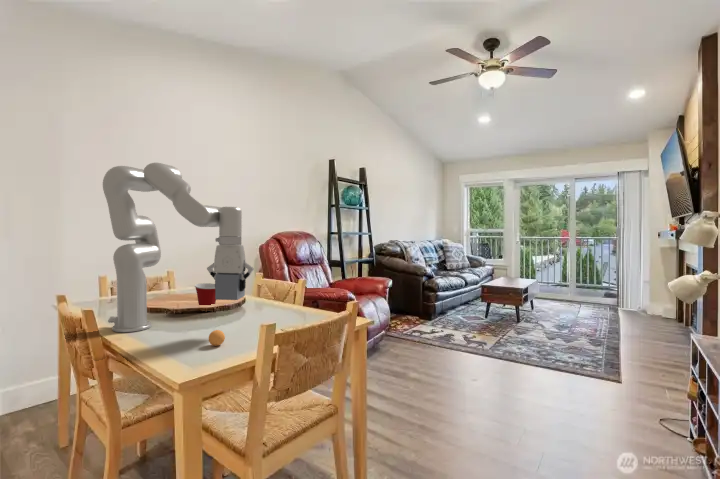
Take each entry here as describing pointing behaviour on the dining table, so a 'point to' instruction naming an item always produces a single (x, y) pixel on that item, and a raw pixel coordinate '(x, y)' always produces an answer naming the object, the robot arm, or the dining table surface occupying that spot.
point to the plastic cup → (205, 293)
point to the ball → (216, 337)
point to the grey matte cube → (228, 287)
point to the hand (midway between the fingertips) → (230, 290)
